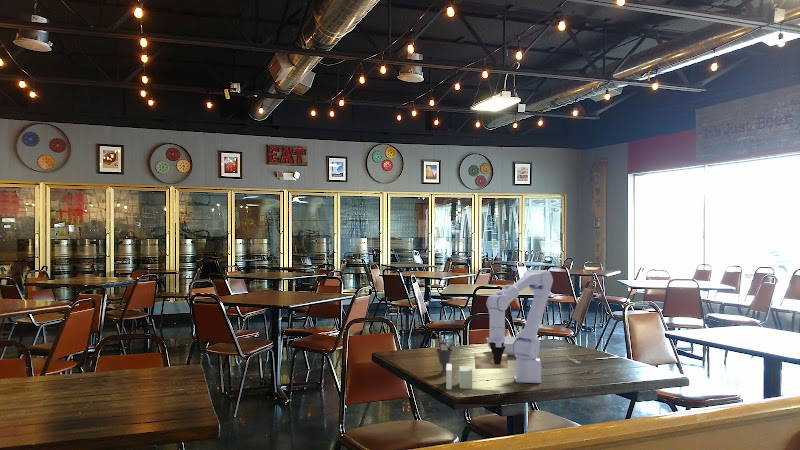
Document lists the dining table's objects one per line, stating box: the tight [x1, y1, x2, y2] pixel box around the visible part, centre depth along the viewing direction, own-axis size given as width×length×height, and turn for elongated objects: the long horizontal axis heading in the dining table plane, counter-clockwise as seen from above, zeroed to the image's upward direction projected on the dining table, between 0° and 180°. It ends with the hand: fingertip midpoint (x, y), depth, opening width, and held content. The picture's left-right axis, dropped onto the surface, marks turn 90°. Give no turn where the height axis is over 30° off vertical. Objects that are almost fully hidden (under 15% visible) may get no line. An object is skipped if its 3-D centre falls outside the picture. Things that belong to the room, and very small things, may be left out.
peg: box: [474, 353, 509, 370], centre depth 217 cm, size 12×4×5 cm, turn 85°
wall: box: [445, 363, 453, 390], centre depth 218 cm, size 2×11×7 cm, turn 175°
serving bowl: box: [486, 335, 517, 357], centre depth 278 cm, size 21×21×7 cm
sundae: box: [436, 336, 453, 376], centre depth 236 cm, size 7×7×15 cm
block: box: [458, 365, 473, 390], centre depth 217 cm, size 4×8×6 cm, turn 175°
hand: (496, 362), depth 217 cm, fingers closed on peg, 4 cm apart
